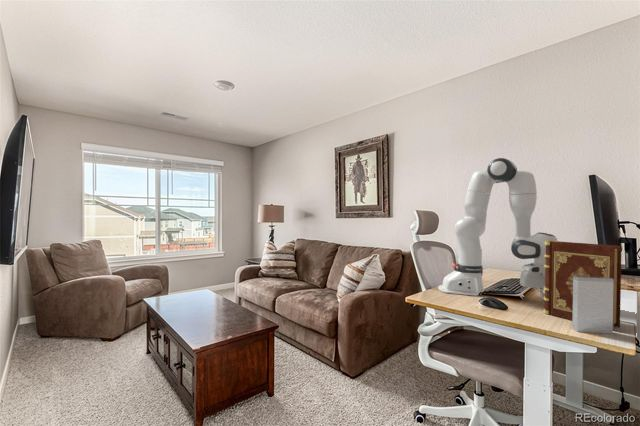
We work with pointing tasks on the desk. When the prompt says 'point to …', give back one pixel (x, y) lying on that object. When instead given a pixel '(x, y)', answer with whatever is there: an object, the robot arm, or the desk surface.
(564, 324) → the desk surface
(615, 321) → the decorative book
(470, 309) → the desk surface
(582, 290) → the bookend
